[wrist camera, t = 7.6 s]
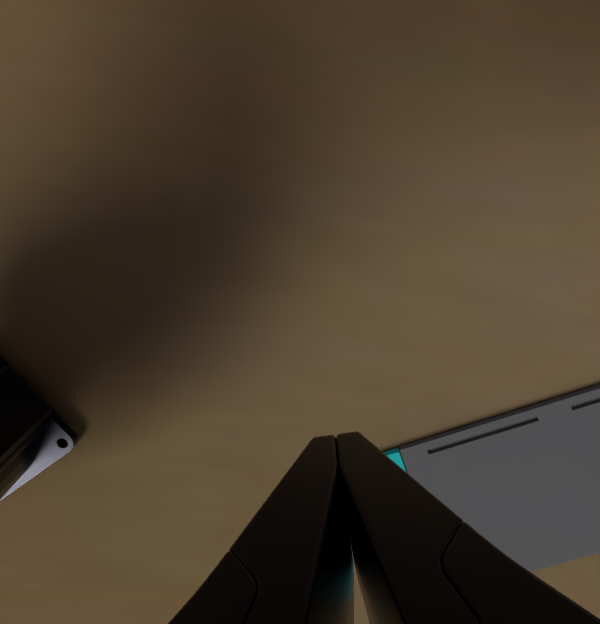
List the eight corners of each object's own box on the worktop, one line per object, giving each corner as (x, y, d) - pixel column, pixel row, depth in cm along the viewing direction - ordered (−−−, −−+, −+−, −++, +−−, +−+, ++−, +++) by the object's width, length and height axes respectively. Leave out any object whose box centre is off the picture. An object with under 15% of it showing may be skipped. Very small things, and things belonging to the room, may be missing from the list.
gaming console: (342, 455, 23) (404, 618, 26) (343, 468, 22) (408, 637, 25) (760, 325, 21) (790, 514, 24) (783, 332, 20) (813, 529, 22)
